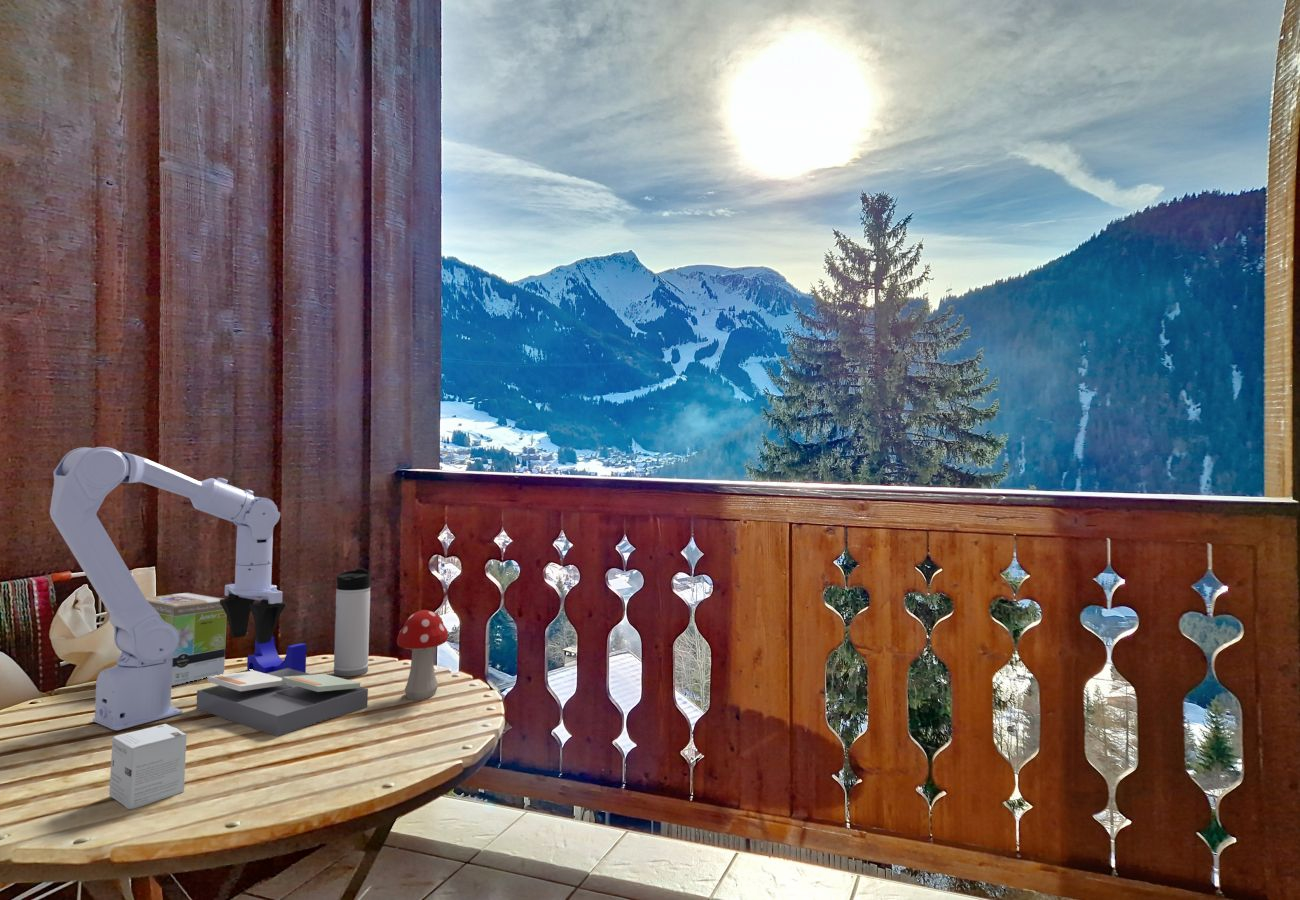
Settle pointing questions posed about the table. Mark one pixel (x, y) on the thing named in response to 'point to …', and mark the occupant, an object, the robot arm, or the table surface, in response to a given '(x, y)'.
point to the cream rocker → (246, 680)
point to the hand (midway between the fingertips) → (251, 639)
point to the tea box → (194, 634)
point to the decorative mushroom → (422, 651)
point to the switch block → (280, 704)
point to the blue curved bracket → (277, 658)
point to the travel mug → (352, 623)
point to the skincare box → (147, 765)
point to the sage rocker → (320, 682)
